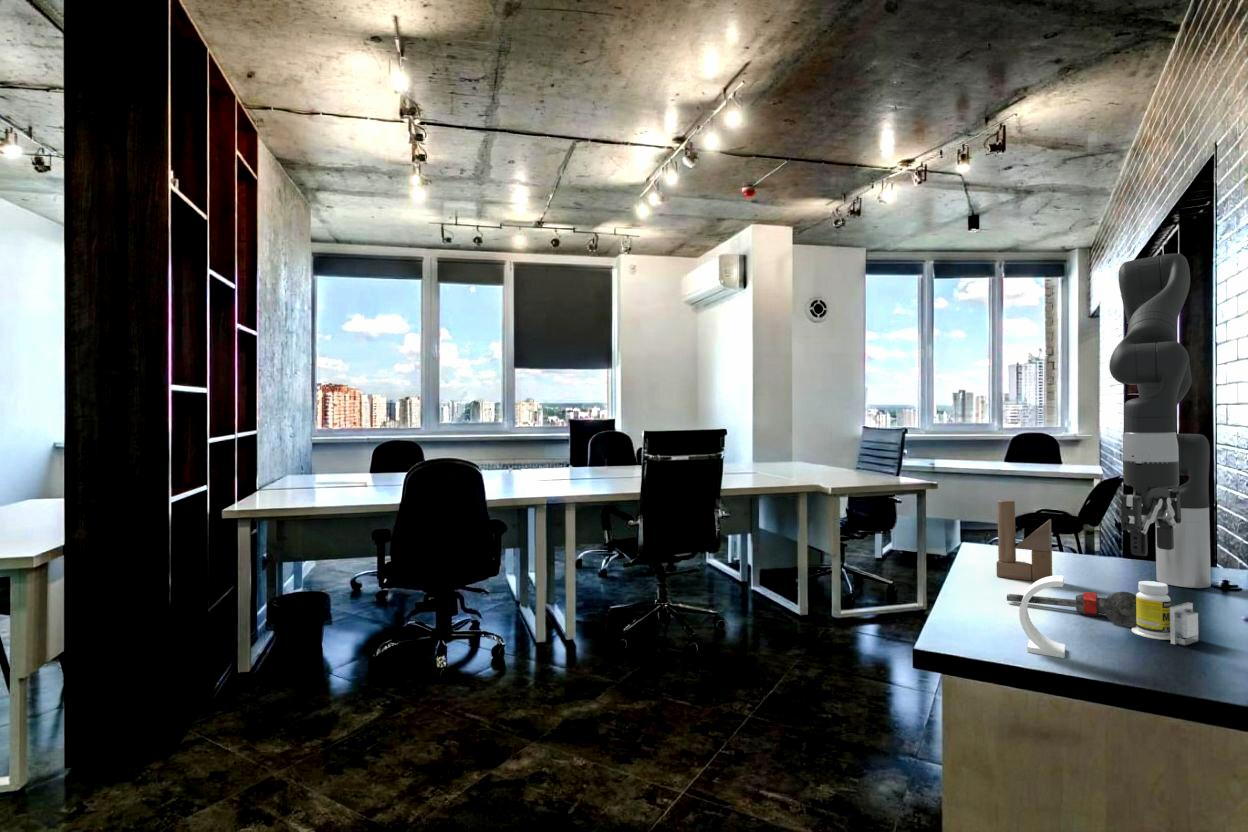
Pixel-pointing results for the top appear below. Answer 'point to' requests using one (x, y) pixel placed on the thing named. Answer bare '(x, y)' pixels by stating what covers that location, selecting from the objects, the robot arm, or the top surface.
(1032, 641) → the headphone stand
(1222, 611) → the top surface
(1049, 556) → the wooden block
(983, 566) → the top surface
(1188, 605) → the flange stub
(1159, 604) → the supplement bottle
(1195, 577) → the robot arm
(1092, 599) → the valve
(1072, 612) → the top surface
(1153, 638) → the pad
